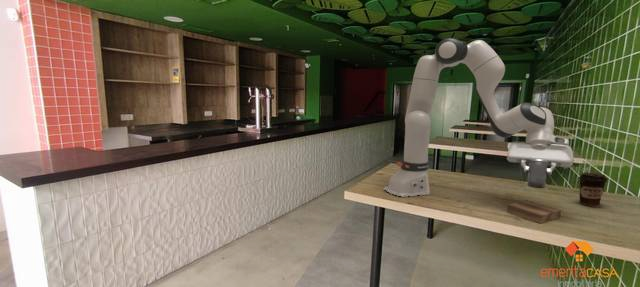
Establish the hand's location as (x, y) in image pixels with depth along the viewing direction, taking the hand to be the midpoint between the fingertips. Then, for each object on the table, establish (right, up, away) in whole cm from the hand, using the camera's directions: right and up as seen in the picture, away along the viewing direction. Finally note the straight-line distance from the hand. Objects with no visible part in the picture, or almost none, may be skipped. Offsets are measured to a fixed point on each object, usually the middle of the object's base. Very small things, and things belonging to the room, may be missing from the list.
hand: (537, 172), depth 108 cm
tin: (0, -5, +1) cm, 5 cm away
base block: (0, -16, +3) cm, 17 cm away
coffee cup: (+31, -15, +13) cm, 37 cm away
